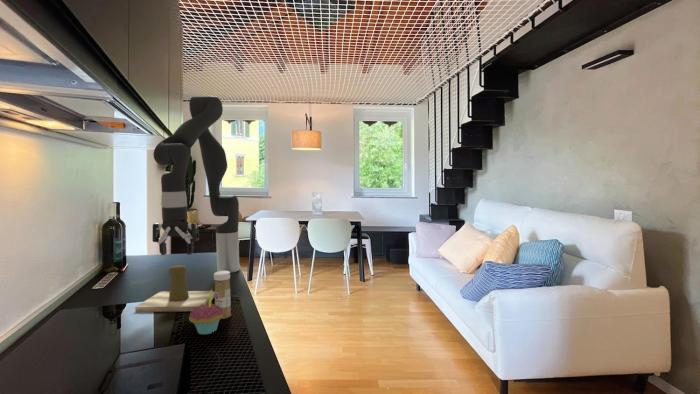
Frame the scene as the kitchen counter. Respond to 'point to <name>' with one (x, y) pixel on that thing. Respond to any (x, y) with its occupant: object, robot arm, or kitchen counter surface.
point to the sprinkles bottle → (223, 292)
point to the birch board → (163, 304)
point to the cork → (178, 283)
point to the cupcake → (206, 317)
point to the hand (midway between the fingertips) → (176, 254)
